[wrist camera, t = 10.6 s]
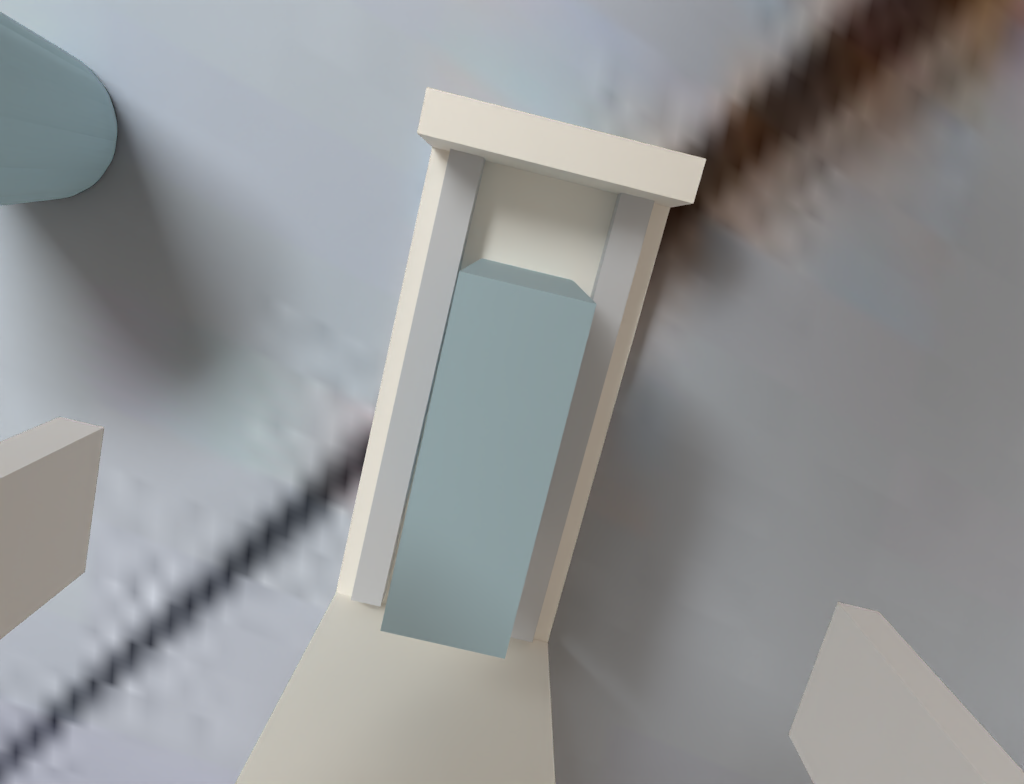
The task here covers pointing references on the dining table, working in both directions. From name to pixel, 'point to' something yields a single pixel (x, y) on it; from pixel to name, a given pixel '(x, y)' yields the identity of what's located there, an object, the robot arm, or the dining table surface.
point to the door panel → (487, 455)
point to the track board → (398, 436)
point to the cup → (49, 120)
